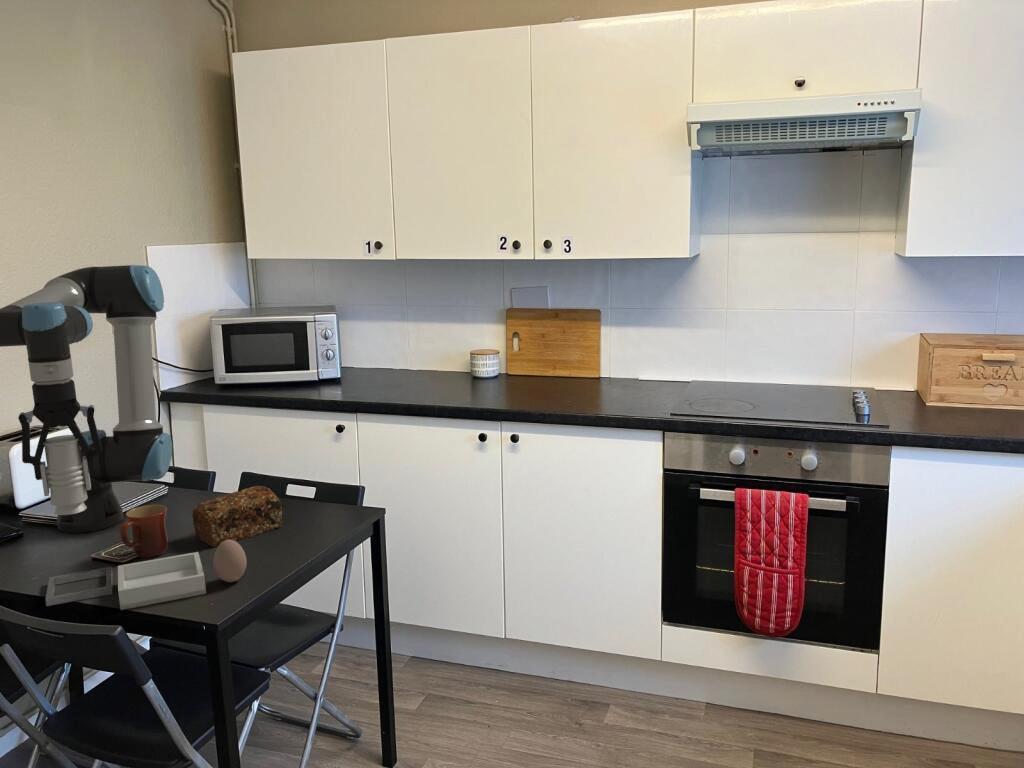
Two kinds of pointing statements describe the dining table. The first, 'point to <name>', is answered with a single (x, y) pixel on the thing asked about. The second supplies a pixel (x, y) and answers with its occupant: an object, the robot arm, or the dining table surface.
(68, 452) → the grey tall round piece
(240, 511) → the bread
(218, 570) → the egg
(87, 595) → the grey square frame
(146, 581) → the bin
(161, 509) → the mug
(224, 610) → the dining table surface
